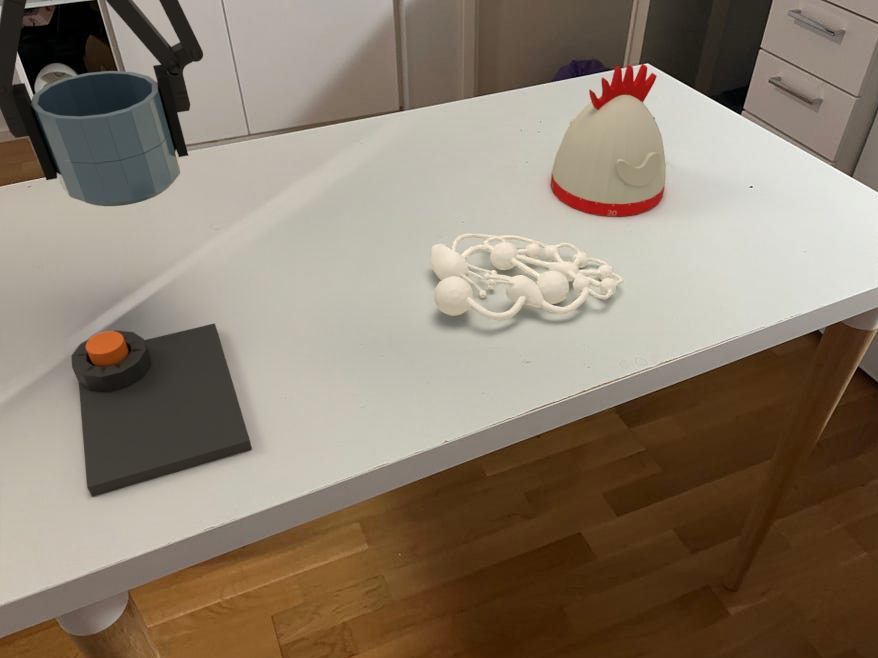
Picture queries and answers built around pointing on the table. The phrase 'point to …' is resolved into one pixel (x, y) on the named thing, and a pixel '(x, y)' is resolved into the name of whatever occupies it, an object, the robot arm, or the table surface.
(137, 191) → the bowl
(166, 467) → the scale
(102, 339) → the tare button
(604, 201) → the kitchen timer
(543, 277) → the tangled rod sculpture
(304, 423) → the table surface
